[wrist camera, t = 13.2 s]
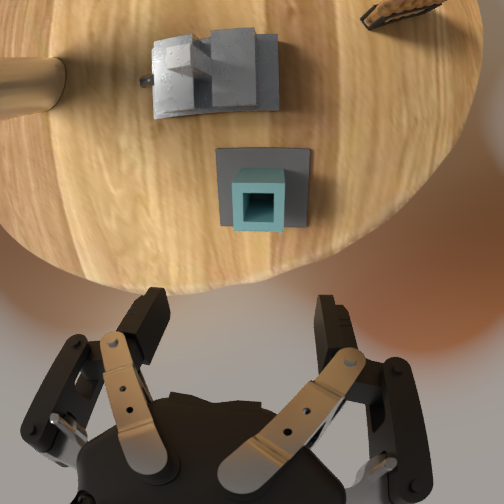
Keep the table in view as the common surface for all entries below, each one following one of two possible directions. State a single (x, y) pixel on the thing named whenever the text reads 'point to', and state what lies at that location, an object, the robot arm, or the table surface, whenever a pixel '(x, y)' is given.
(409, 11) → the ammunition clip
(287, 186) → the mat
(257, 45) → the vise
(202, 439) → the robot arm
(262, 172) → the sleeve
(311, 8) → the table surface
